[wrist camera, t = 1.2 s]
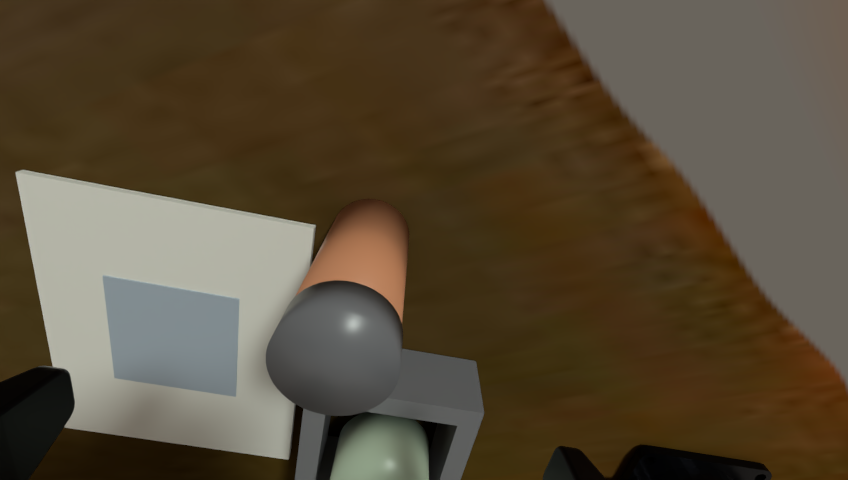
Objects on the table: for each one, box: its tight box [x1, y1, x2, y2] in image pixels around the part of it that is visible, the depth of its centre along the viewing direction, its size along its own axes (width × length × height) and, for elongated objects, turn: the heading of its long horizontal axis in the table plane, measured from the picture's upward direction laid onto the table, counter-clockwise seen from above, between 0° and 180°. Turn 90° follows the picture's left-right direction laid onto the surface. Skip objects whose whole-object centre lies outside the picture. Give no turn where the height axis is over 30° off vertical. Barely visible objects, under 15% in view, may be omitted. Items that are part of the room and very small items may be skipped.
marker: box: [266, 199, 409, 416], centre depth 12 cm, size 3×3×7 cm
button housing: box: [295, 349, 484, 480], centre depth 18 cm, size 6×6×3 cm
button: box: [330, 412, 429, 480], centre depth 16 cm, size 4×4×2 cm
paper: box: [16, 170, 316, 460], centre depth 17 cm, size 10×12×1 cm
